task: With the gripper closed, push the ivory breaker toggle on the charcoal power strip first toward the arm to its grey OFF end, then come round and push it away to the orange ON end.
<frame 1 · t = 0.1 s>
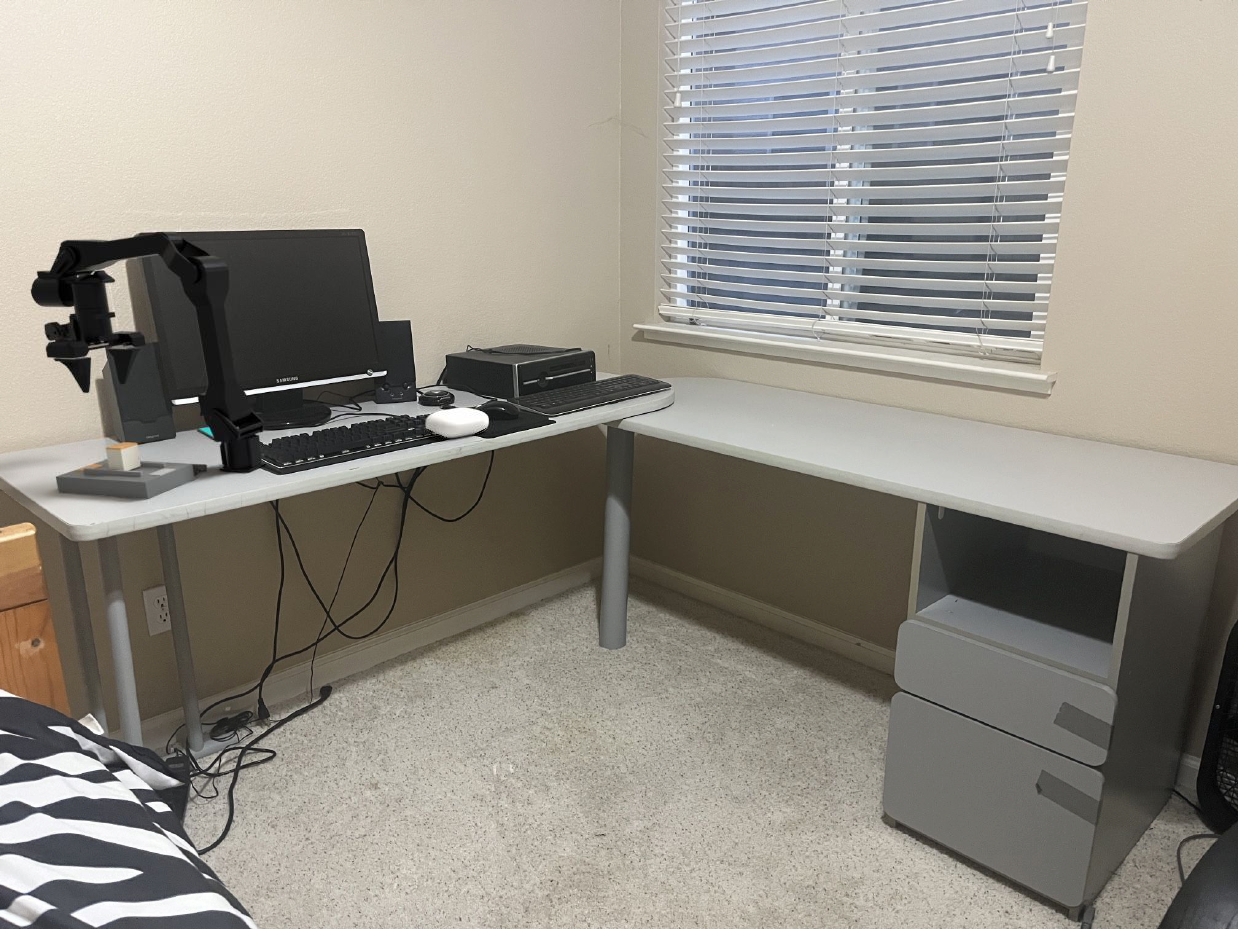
hand: (104, 388, 170), 15 cm above the table, fingers open, 9 cm apart
cord a: (163, 472, 165), on the table
power strip: (128, 486, 157), on the table
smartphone: (224, 436, 196), on the table
earbud case: (458, 435, 195), on the table
toggle: (123, 456, 155), point 5 cm above the table, slide at 4.0 cm
grey thin rod: (173, 470, 166), on the table
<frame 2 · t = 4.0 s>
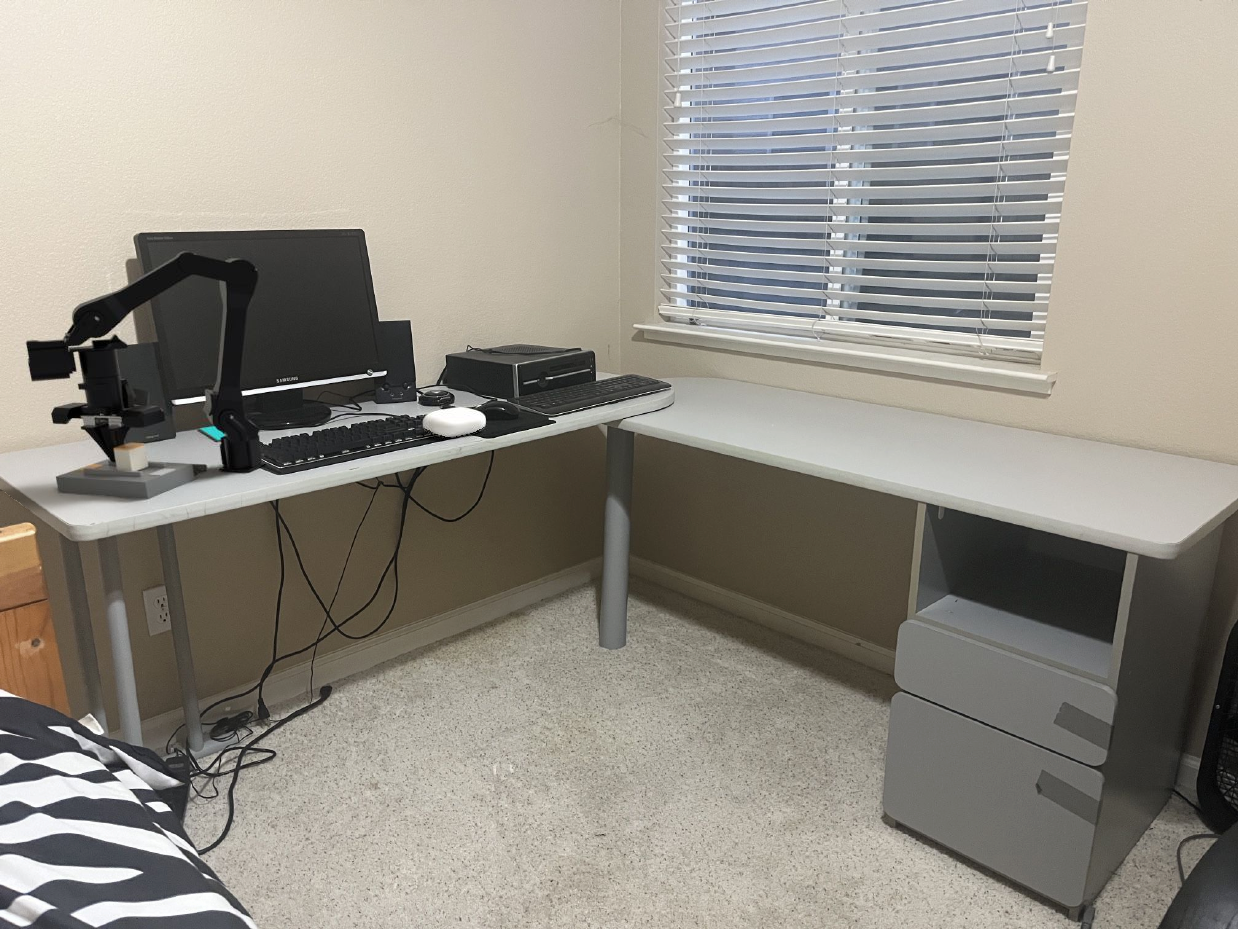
hand: (115, 461, 156), 4 cm above the table, fingers closed
toggle: (131, 457, 155), point 5 cm above the table, slide at 2.4 cm, touching gripper
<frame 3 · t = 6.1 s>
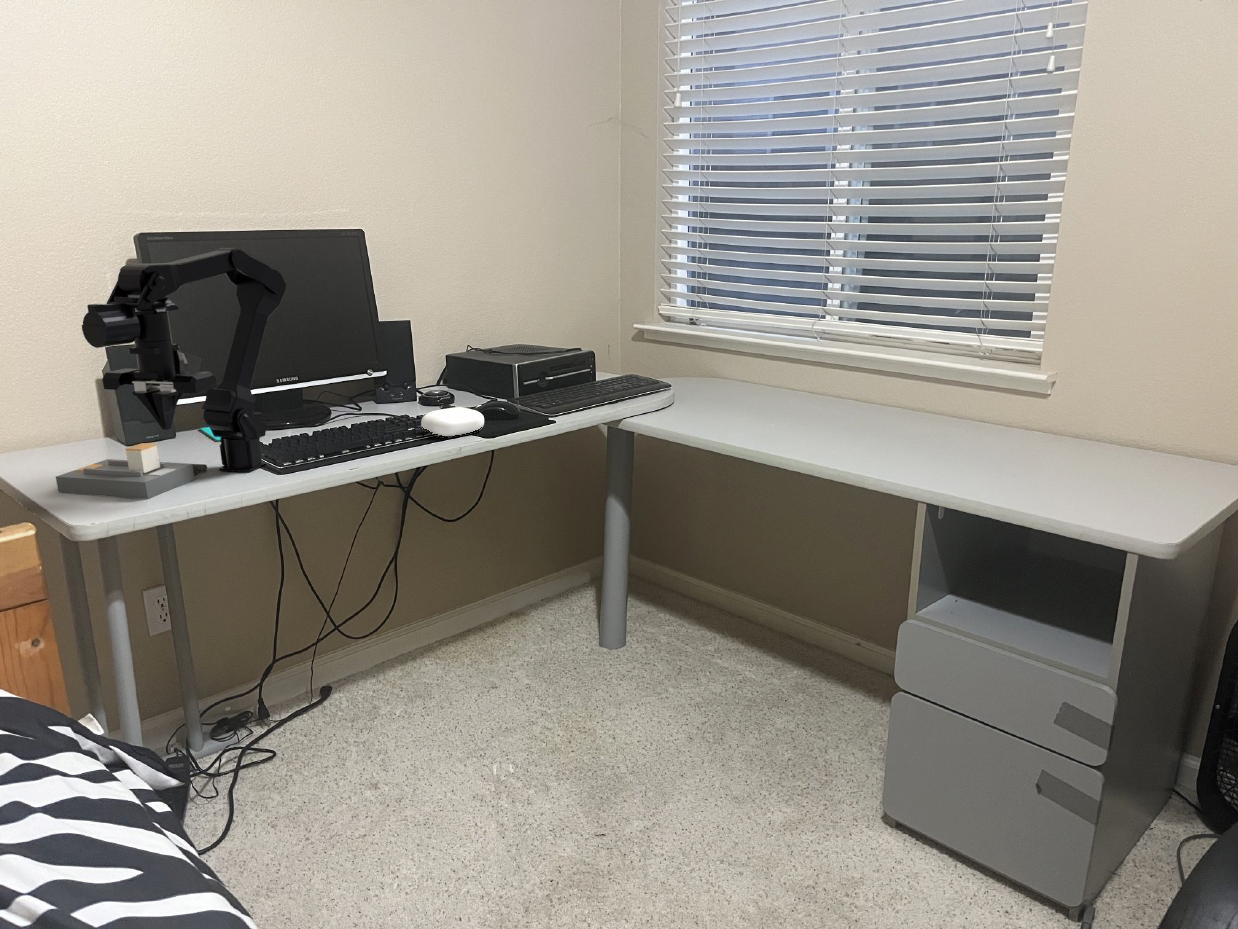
hand: (166, 429, 152), 11 cm above the table, fingers closed
toggle: (143, 457, 154), point 5 cm above the table, slide at 0.0 cm
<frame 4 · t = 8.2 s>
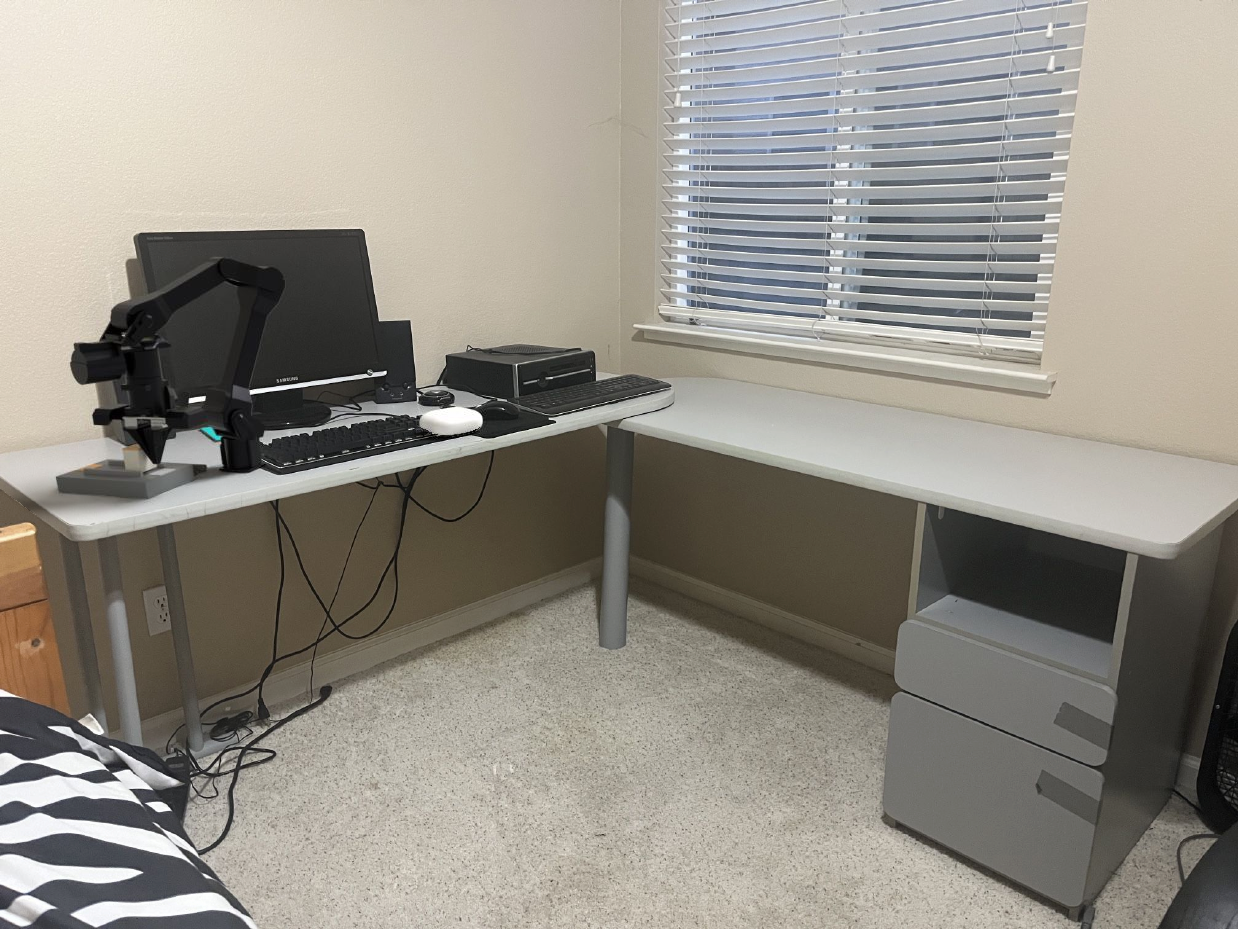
hand: (157, 463, 154), 5 cm above the table, fingers closed
toggle: (139, 457, 154), point 5 cm above the table, slide at 0.7 cm, touching gripper
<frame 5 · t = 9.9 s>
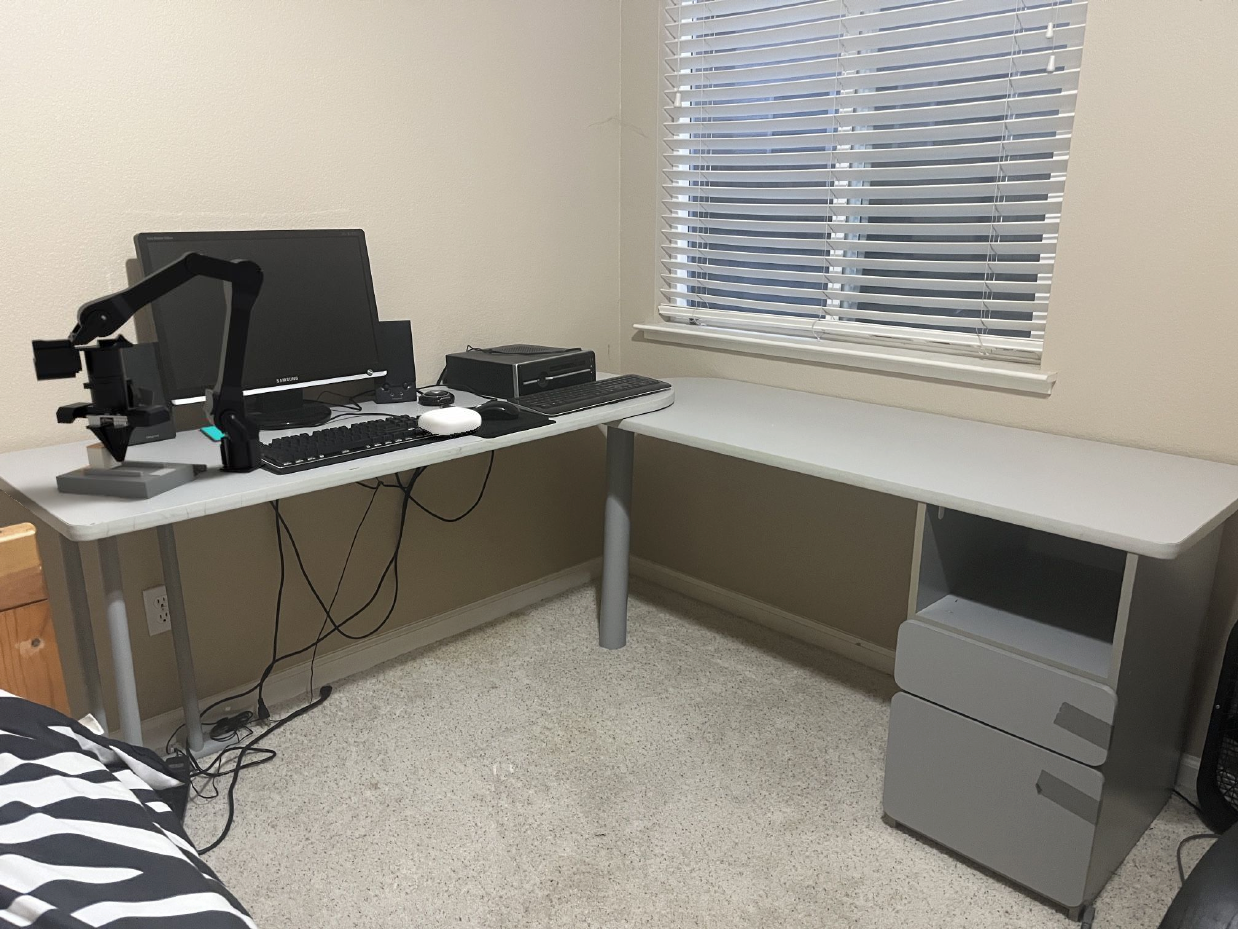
hand: (120, 461, 155), 5 cm above the table, fingers closed
toggle: (104, 455, 156), point 5 cm above the table, slide at 8.0 cm, touching gripper
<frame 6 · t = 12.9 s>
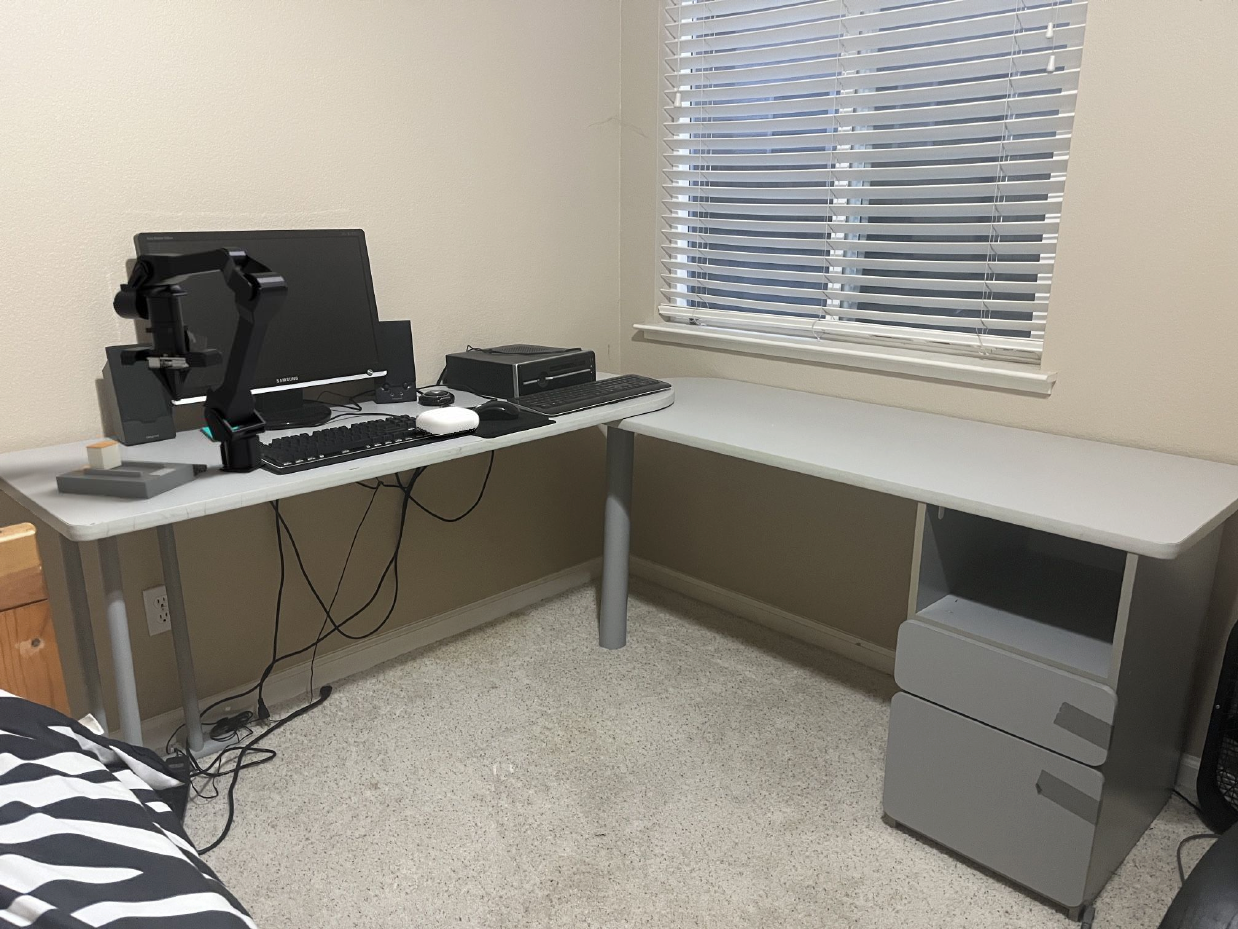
hand: (177, 400, 171), 12 cm above the table, fingers closed
toggle: (104, 455, 156), point 5 cm above the table, slide at 8.0 cm
at the end: toggle slide at 8.0 cm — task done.
